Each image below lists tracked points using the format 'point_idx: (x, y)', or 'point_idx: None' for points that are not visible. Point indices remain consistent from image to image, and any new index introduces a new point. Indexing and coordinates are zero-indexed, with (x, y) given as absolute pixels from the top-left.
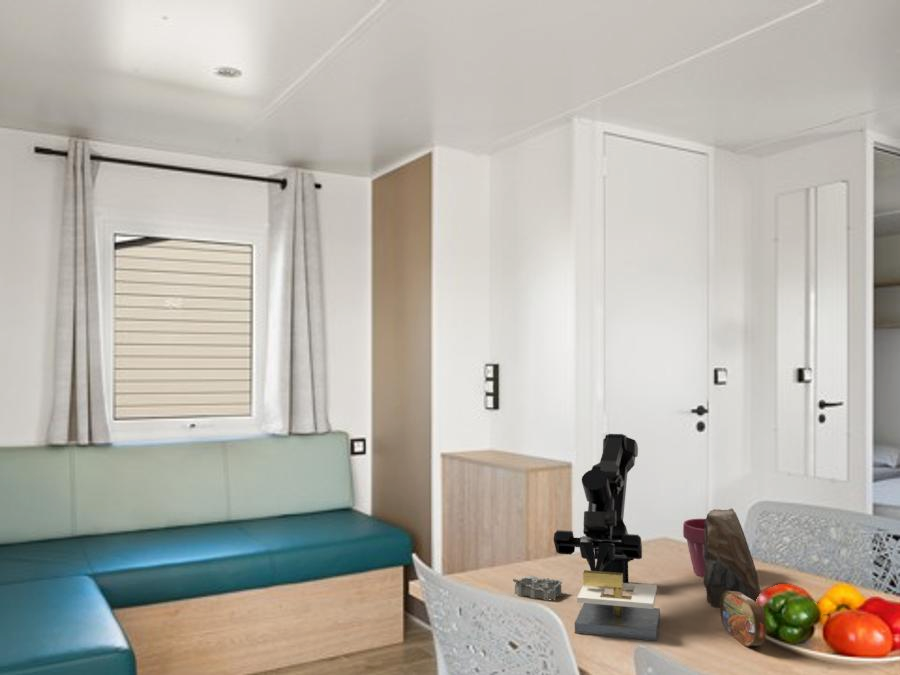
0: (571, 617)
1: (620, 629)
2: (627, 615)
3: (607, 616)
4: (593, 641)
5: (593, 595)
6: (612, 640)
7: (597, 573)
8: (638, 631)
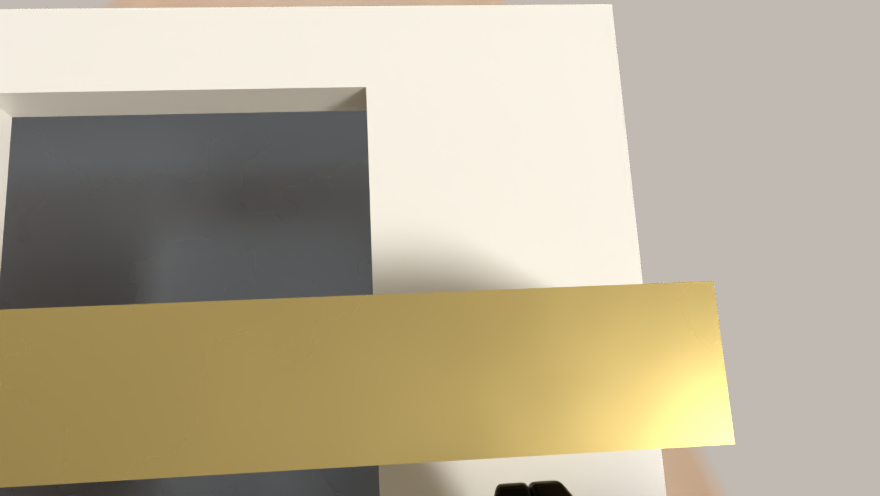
0: (666, 475)
1: None
2: None
3: None
4: (389, 5)
5: (449, 127)
6: None
7: (454, 295)
8: None
